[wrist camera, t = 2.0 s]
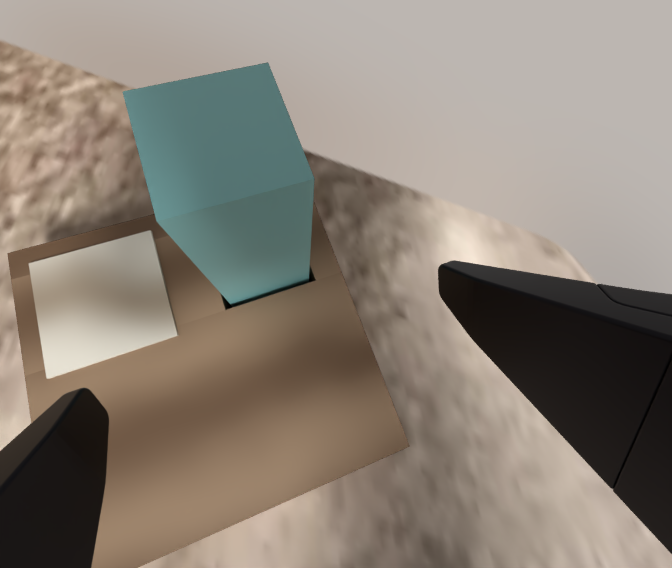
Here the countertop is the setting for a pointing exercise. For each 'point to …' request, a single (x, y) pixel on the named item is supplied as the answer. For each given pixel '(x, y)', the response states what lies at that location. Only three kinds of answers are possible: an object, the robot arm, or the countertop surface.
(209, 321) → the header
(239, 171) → the plug
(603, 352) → the robot arm
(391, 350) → the countertop surface
